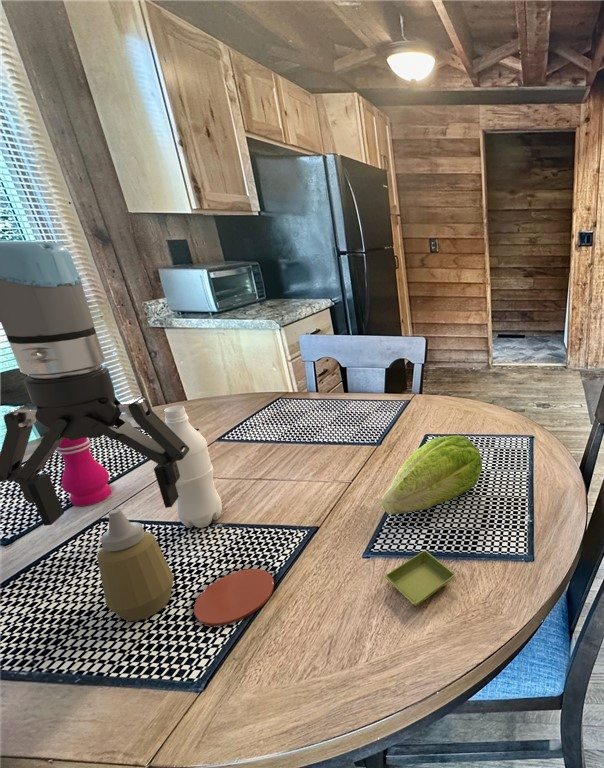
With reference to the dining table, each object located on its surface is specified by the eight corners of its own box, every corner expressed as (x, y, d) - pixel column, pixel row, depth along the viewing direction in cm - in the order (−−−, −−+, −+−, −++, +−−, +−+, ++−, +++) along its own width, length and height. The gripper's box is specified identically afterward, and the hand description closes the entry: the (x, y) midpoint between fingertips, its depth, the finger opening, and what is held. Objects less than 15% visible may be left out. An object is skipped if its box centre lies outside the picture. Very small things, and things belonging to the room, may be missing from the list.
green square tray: (456, 584, 72) (456, 574, 71) (414, 615, 66) (414, 605, 65) (425, 558, 77) (425, 549, 77) (384, 585, 71) (383, 575, 70)
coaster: (186, 598, 67) (185, 595, 67) (259, 561, 75) (259, 559, 75) (206, 640, 61) (205, 637, 61) (285, 595, 69) (284, 592, 68)
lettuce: (356, 478, 90) (382, 474, 79) (444, 430, 106) (476, 421, 94) (385, 536, 91) (415, 540, 79) (468, 480, 107) (502, 477, 95)
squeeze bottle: (188, 599, 67) (161, 506, 61) (125, 638, 61) (87, 537, 55) (165, 579, 71) (137, 488, 65) (103, 613, 64) (65, 516, 58)
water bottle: (188, 513, 87) (158, 403, 79) (228, 507, 90) (202, 399, 81) (176, 535, 81) (141, 418, 73) (219, 527, 83) (190, 413, 75)
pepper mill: (82, 511, 87) (49, 424, 80) (60, 503, 89) (27, 418, 82) (122, 492, 93) (95, 410, 87) (101, 485, 96) (73, 405, 89)
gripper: (-102, 388, 45) (-23, 545, 52) (172, 370, 53) (208, 510, 60) (-43, 368, 52) (20, 510, 59) (193, 355, 60) (223, 482, 67)
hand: (115, 510), depth 60 cm, fingers open, 13 cm apart
